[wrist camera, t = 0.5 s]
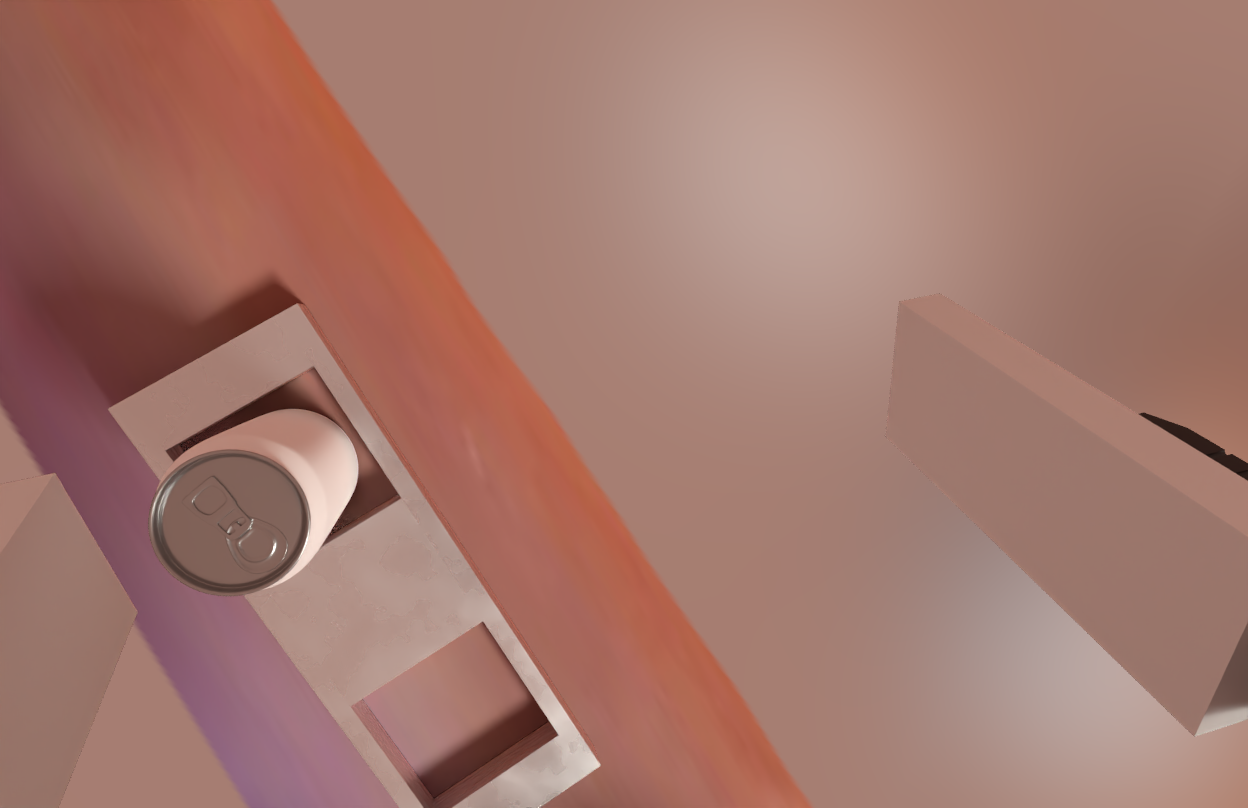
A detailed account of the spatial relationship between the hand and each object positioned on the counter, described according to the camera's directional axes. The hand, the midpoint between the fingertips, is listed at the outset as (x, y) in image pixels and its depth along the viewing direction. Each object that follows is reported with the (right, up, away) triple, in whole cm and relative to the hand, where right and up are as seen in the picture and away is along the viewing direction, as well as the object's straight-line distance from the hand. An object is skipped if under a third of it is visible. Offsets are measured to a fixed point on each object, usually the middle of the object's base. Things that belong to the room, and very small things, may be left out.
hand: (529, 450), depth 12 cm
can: (-16, -3, +28) cm, 32 cm away
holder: (-12, -9, +29) cm, 33 cm away
